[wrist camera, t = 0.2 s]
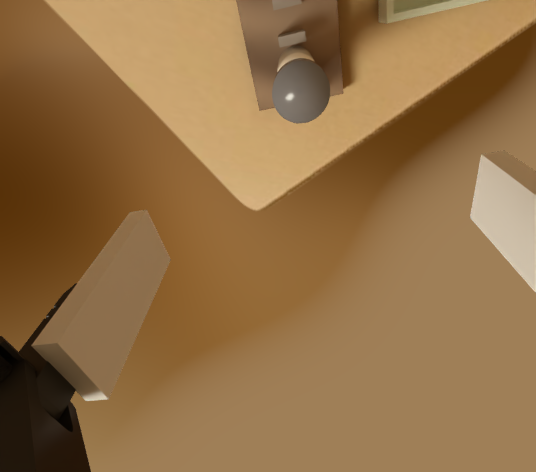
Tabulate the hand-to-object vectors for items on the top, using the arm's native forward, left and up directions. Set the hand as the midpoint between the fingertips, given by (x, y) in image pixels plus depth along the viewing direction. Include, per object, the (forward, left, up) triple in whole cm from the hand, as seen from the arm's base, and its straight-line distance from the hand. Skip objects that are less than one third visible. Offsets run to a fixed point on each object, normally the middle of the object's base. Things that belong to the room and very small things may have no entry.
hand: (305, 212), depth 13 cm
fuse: (-2, +1, -25) cm, 25 cm away
